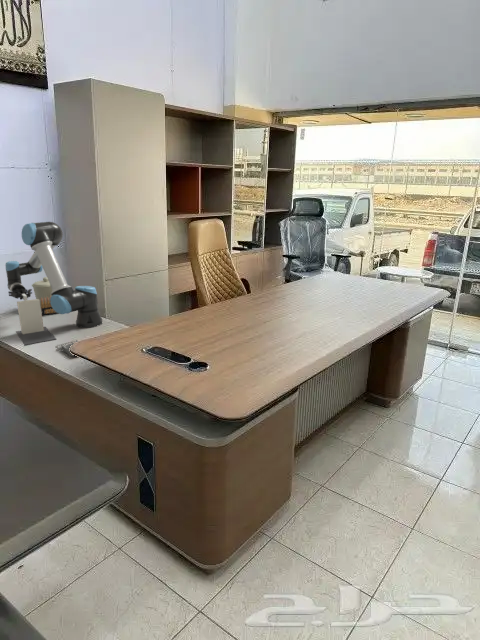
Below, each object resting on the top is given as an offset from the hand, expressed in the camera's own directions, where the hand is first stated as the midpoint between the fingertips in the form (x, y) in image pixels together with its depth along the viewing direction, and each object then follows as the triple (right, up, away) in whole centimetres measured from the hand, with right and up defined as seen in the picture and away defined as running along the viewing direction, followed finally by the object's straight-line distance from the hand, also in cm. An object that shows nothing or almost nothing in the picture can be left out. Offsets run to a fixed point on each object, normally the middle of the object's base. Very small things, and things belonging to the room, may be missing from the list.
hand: (25, 298), depth 248 cm
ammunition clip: (-1, -9, +36) cm, 37 cm away
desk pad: (+8, -21, -4) cm, 23 cm away
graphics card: (+37, -29, -27) cm, 55 cm away
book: (+4, -19, +1) cm, 19 cm away
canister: (-9, -4, +52) cm, 53 cm away
